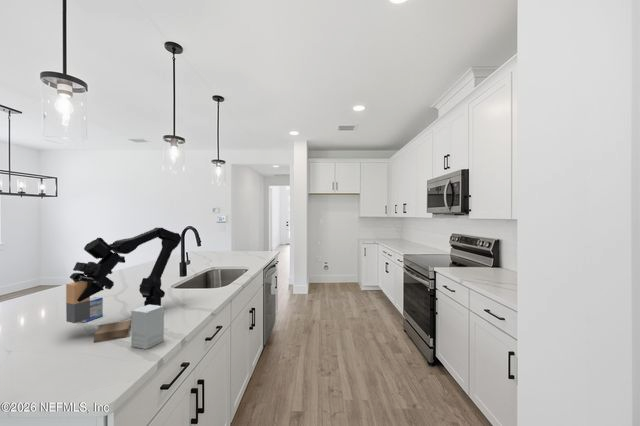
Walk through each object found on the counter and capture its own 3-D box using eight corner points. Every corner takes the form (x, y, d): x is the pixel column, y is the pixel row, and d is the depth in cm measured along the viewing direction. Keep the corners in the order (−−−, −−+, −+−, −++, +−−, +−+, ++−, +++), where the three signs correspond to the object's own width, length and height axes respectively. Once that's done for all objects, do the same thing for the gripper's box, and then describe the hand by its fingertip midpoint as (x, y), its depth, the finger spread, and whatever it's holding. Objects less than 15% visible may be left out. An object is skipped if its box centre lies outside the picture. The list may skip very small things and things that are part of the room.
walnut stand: (131, 327, 114) (131, 320, 114) (127, 336, 105) (127, 328, 105) (100, 332, 109) (100, 324, 109) (94, 342, 100) (94, 334, 100)
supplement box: (164, 340, 102) (164, 305, 102) (145, 349, 95) (146, 312, 95) (149, 337, 104) (149, 303, 104) (130, 346, 97) (130, 310, 97)
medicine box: (85, 322, 119) (85, 302, 119) (76, 322, 120) (77, 301, 120) (103, 316, 127) (103, 297, 127) (94, 315, 127) (95, 296, 128)
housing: (81, 316, 109) (81, 280, 109) (90, 318, 107) (89, 282, 107) (66, 321, 104) (66, 284, 104) (74, 323, 102) (74, 285, 102)
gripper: (75, 252, 113) (39, 286, 102) (105, 254, 106) (70, 291, 96) (96, 268, 120) (66, 301, 110) (126, 271, 113) (96, 307, 103)
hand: (74, 300), depth 104 cm, fingers closed on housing, 5 cm apart
